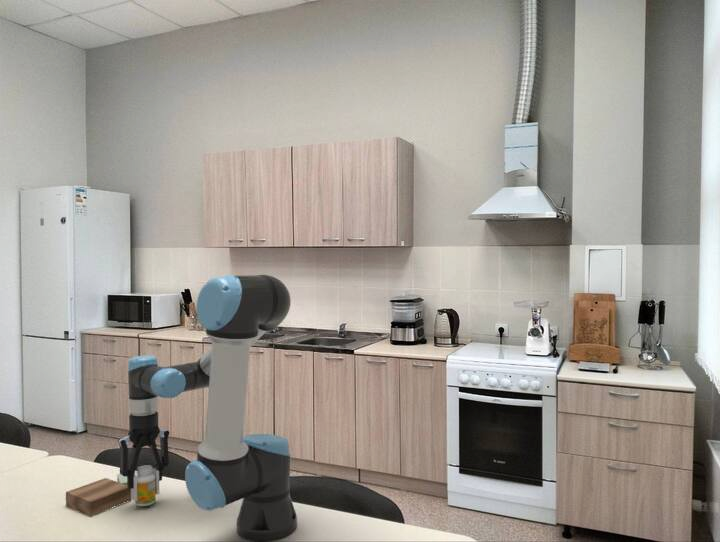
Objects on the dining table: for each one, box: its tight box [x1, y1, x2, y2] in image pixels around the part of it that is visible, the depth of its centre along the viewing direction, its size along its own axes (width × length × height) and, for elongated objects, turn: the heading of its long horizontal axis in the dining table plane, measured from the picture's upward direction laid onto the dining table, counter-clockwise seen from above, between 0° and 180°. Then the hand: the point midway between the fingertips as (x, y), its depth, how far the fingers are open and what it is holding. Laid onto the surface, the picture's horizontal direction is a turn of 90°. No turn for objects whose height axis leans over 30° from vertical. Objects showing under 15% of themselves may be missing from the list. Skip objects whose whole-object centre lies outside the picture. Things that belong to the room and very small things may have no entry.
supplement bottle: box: [134, 464, 157, 507], centre depth 157 cm, size 5×5×10 cm
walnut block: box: [65, 477, 132, 518], centre depth 158 cm, size 12×12×4 cm
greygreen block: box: [116, 470, 138, 485], centre depth 169 cm, size 8×8×4 cm
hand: (145, 495), depth 157 cm, fingers closed on supplement bottle, 5 cm apart
